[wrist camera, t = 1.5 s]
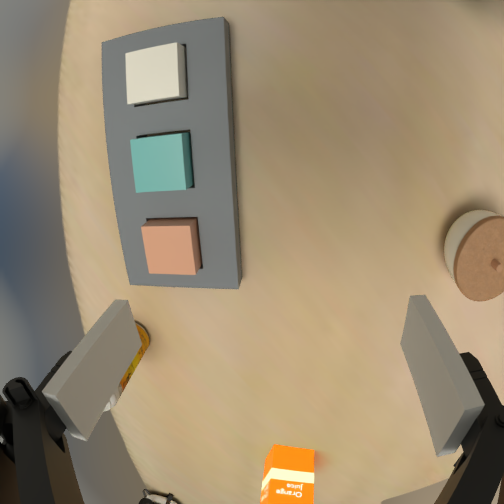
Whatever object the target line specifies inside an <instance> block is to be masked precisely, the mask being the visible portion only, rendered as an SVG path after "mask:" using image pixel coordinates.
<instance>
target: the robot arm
mask: <svg viewBox="0 0 504 504" xmlns="http://www.w3.org/2000/svg"><path fill="white" fill-rule="evenodd" d="M141 345H142V342H141V339H140V336H139V333H138V330H137V327H136V324H135V321H134V318H133V315H132V312H131V308H130V305H129V302H128V300H115V301H114V302H113V303H112V304H111V305H110V306H109V308H108V309H107V310H106V311H105V312H104V314H103V315H102V316H101V317H100V318H99V319H98V321H97V322H96V323H95V324H94V325H93V327H92V328H91V329H90V330H89V332H88V333H87V334H86V335H85V336H84V338H83V339H82V340H81V341H80V343H79V344H78V345H77V346H76V348H75V349H74V350H73V351H69V352H68V353H67V354H65V355H64V356H62V357H61V358H60V360H59V361H58V362H57V363H56V365H55V366H54V367H53V368H52V369H51V372H49V373H48V375H47V376H46V377H45V378H44V380H43V381H42V382H41V384H40V385H39V386H38V388H37V389H36V390H35V391H34V390H33V389H32V387H31V385H30V384H29V382H28V380H26V379H25V378H22V377H18V378H14V379H12V380H10V381H9V382H8V383H7V384H6V385H5V386H4V388H3V394H4V395H5V397H6V398H7V400H8V401H4V400H3V398H2V397H1V395H0V435H1V437H2V438H3V439H4V440H3V443H1V442H0V504H84V501H83V498H82V495H81V492H80V489H79V485H78V482H77V479H76V475H75V471H74V468H73V464H72V460H71V456H70V452H69V448H68V444H67V439H66V437H65V435H64V431H65V429H66V428H67V429H68V431H69V432H70V433H71V435H72V436H73V437H76V438H79V439H82V440H85V441H87V440H88V438H89V436H90V434H91V432H92V430H93V429H94V427H95V425H96V423H97V421H98V419H99V418H100V416H101V414H102V413H103V411H104V409H105V407H106V405H107V404H108V402H109V400H110V398H111V397H112V395H113V393H114V391H115V390H116V388H117V386H118V384H119V383H120V381H121V379H122V378H123V376H124V374H125V372H126V371H127V369H128V367H129V366H130V364H131V362H132V361H133V359H134V357H135V356H136V354H137V352H138V350H139V349H140V347H141ZM401 347H402V349H403V352H404V355H405V358H406V360H407V363H408V366H409V369H410V372H411V374H412V377H413V380H414V383H415V386H416V389H417V392H418V395H419V398H420V401H421V404H422V407H423V411H424V414H425V417H426V420H427V424H428V427H429V430H430V434H431V437H432V441H433V445H434V448H435V452H436V456H437V457H439V456H443V455H447V454H451V453H455V452H456V450H457V449H458V447H459V446H460V444H461V445H462V448H463V451H464V452H463V453H462V455H461V456H460V458H459V459H458V460H457V462H456V463H455V464H454V467H455V468H454V470H453V472H452V474H451V476H450V478H449V479H448V481H447V483H446V485H445V487H444V488H443V490H442V492H441V494H440V495H439V497H438V499H437V500H436V502H435V503H434V504H491V502H492V500H493V498H494V496H495V493H496V491H497V488H498V486H499V483H500V481H501V486H500V493H499V498H498V503H497V504H504V406H503V405H502V404H501V402H500V400H499V398H498V396H497V394H496V392H495V390H494V388H493V387H492V385H491V383H490V381H489V379H488V378H487V375H486V373H485V372H484V371H483V368H482V366H481V364H480V363H479V361H478V359H476V358H475V357H474V356H473V355H472V354H471V353H469V352H467V353H461V354H459V352H458V351H457V349H456V347H455V345H454V343H453V341H452V340H451V338H450V336H449V334H448V333H447V331H446V329H445V327H444V326H443V324H442V322H441V320H440V319H439V317H438V315H437V314H436V312H435V310H434V309H433V307H432V305H431V304H430V302H429V300H428V299H427V297H426V296H425V295H415V296H410V299H409V304H408V310H407V315H406V320H405V325H404V330H403V335H402V339H401ZM501 479H502V480H501Z"/></svg>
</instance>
